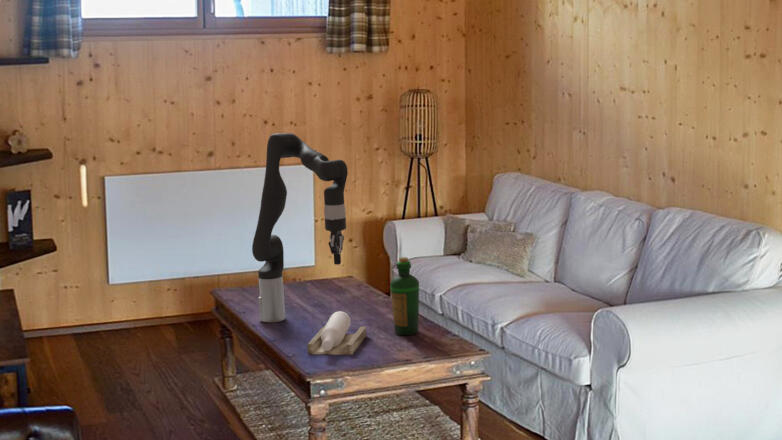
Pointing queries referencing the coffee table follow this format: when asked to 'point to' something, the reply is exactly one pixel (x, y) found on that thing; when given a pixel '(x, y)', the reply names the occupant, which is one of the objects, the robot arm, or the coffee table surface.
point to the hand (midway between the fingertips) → (337, 264)
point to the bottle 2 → (405, 299)
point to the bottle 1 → (335, 330)
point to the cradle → (345, 348)
